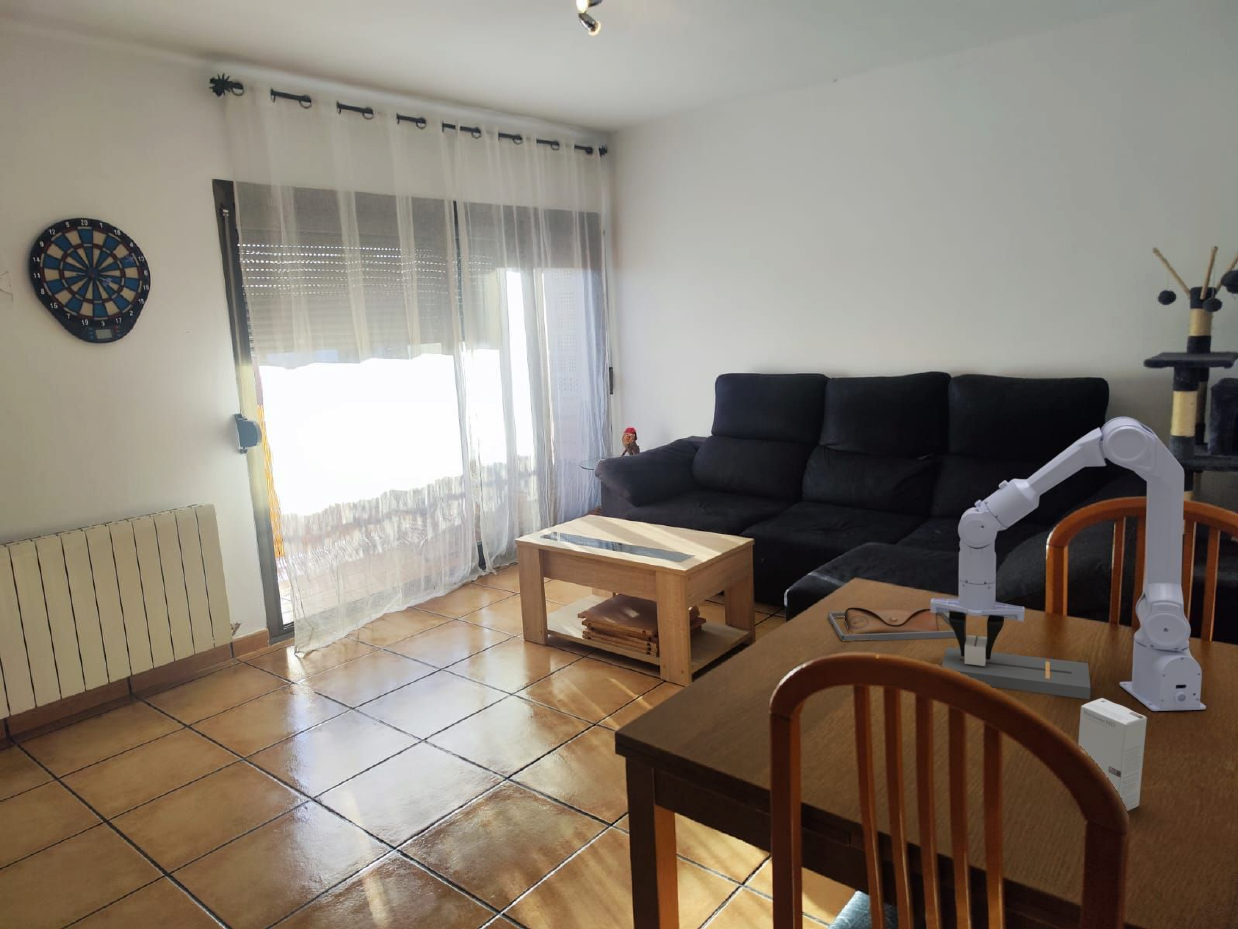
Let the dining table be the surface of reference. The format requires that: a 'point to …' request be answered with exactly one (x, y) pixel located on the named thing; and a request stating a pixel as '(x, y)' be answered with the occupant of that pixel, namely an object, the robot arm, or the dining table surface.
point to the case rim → (893, 635)
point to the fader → (975, 650)
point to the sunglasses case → (890, 620)
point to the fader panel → (1026, 673)
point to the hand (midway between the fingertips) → (975, 655)
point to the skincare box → (1115, 745)
